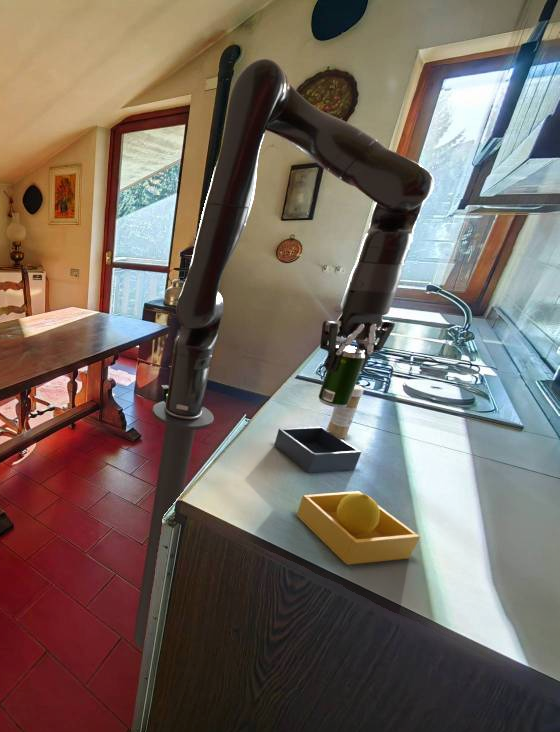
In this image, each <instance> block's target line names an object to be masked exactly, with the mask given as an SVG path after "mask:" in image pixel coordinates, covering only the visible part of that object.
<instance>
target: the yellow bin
mask: <svg viewBox="0 0 560 732" xmlns="http://www.w3.org/2000/svg"><path fill="white" fill-rule="evenodd" d="M353 493H361V494H363V493H362V492H361V491H359V490H354V491H353V490H352V491H342V492H339V491H338V492H330V493H327V492H326V493H315V494H303V495H302V497H301V500H300V503H299V506H298V510H297V512H296V517H297V518H299V519H300V521H301V522H303V524H304V525H305V526H306V527H308V528H309V530H311V531H312V532H313V533H314V535H316V536H317V537H318V538H319V540H321V541H322V542H323V543H324V544H325V545H326V546H327V548H329V549H330V550H331V551H332V552H333V553H334V554H335V555H336V556H337V557H338V558H339V559H340V560H341V561H342V562H343V563H344V564H345V565H357V564H358V565H359V564H367V563H377V562H378V563H379V562H388V561H398V560H407V559H410V558H411V555H412V553H413V552H414V550H415V548H416V547H417V543H418V542H419V540H420V538H421V536H420V535H419V534H417V533H416V532H415V531H413V530H412V529H411V528H410V527H408V526H407V525H406V524H404V523H403V522H402V521H400V520H399V519H398V518H396V517H395V516H393V515H392V514H390V513H389V512H388V511H387V510H385V509H384V508H383V507H382V506H380V505H378V507H379V509H380V518H379V522H378V524H377V526H376V527H375V529H374V530H373V531H371V532H369V533H367V534H354V533H349V532H348V531H347V530H345V529H344V528H343V527H342V526H341V525H340V523H339V522H338V519H337V507H338V505H339V503H340V502H341V500H342V499H343V498H344V497H345V496H347V495H349V494H353Z"/></svg>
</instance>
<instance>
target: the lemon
mask: <svg viewBox="0 0 560 732" xmlns="http://www.w3.org/2000/svg"><path fill="white" fill-rule="evenodd" d="M361 493H362V492H361ZM361 493H353V494H349V495H347V496H345V497H344V498H343V499H342V500H341V502H340V503H339V505H338V507H337V519H338V522H339V523H340V525H341V526H342V527H343V528H344V529H345V530H347V531H348V532H349V533H354V534H367V533H369V532H371V531H373V530H374V529H375V527H376V526H377V524H378V522H379V518H380V509H379V507H378V506H379V505H378V503H377V502H376V501H375V500H374V499H373V498H372V497H370V496H369V495H368V494H366V493H362V494H361Z"/></svg>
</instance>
